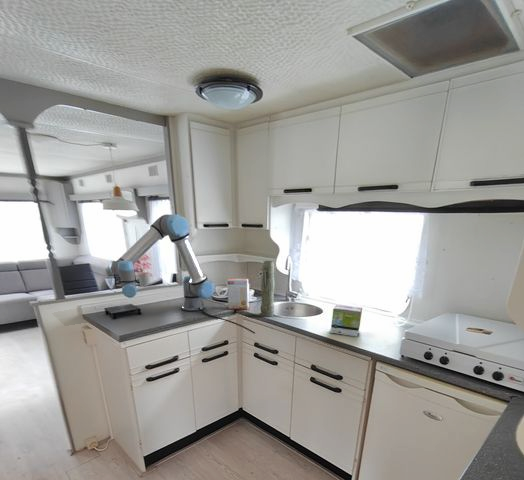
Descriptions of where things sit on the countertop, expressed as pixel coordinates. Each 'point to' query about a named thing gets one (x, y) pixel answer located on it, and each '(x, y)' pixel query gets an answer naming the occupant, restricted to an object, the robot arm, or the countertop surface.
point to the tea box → (346, 320)
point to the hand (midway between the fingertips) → (127, 279)
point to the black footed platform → (122, 309)
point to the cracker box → (238, 294)
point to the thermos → (267, 289)
